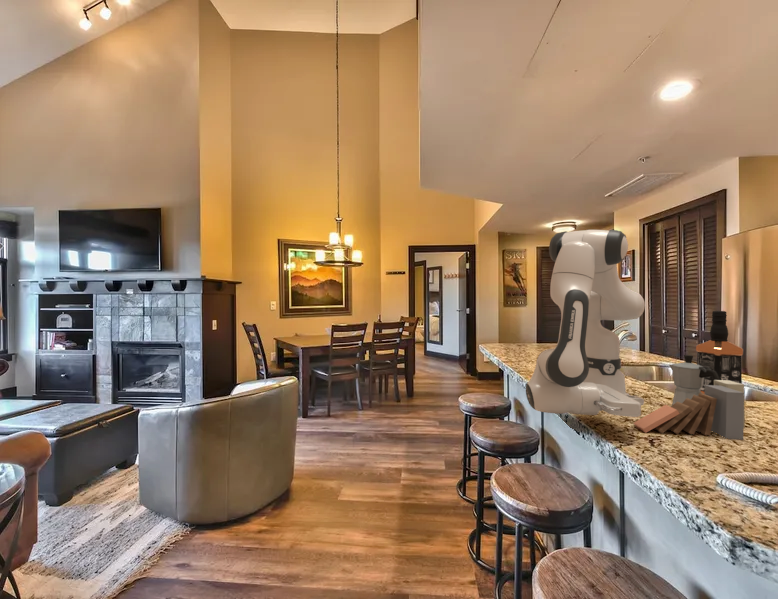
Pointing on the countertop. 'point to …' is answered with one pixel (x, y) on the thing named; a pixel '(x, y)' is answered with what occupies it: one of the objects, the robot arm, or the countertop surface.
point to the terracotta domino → (656, 418)
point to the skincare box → (731, 387)
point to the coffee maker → (690, 379)
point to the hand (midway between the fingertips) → (641, 400)
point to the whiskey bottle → (720, 352)
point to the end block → (727, 411)
